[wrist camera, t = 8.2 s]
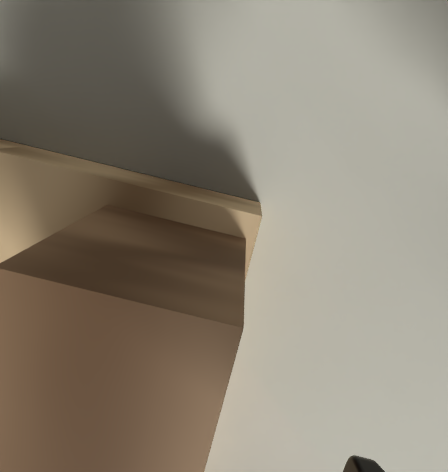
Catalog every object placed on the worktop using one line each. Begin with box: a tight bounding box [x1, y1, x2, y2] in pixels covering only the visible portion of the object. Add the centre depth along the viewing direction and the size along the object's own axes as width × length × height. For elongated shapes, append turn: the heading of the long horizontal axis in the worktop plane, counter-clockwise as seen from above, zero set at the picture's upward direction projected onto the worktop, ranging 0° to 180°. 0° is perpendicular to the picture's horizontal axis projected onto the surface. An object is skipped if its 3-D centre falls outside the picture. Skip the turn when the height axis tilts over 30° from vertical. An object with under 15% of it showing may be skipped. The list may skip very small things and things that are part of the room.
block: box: [0, 205, 246, 472], centre depth 11 cm, size 4×4×6 cm
